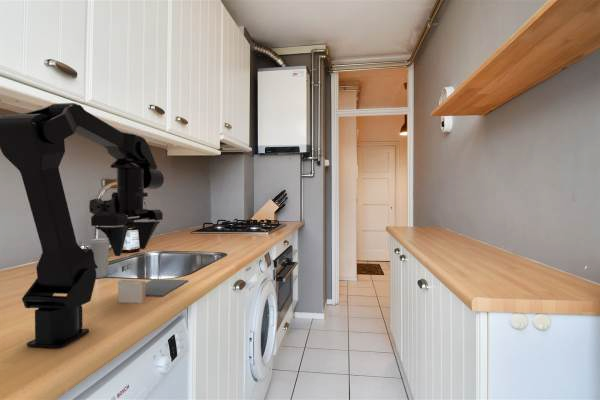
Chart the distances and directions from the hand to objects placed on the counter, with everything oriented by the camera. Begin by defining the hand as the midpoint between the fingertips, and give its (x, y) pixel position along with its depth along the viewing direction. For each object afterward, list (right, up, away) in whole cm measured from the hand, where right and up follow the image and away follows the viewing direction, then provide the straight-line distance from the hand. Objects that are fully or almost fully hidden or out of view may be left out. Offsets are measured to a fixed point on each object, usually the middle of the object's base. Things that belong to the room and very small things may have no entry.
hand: (130, 252), depth 75 cm
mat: (+2, -12, +11) cm, 16 cm away
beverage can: (-22, -12, +23) cm, 34 cm away
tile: (0, -12, 0) cm, 12 cm away
